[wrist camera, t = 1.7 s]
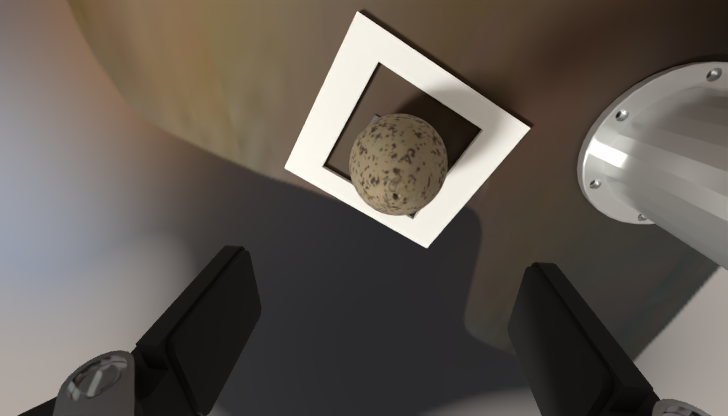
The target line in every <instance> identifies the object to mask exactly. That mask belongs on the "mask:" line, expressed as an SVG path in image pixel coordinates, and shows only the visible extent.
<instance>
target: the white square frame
mask: <svg viewBox="0 0 728 416" xmlns="http://www.w3.org/2000/svg"><path fill="white" fill-rule="evenodd" d="M378 62H380V63H382V64H383V65H385V66H386V67H388V68H389V69H391V70H392V71H394V72H395V73H397V74H398V75H400V76H402V77H403V78H405V79H406V80H408V81H409V82H411V83H412V84H414V85H415V86H417V87H418V88H420V89H421V90H423V91H424V92H426V93H427V94H429V95H431V96H432V97H434V98H435V99H437V100H438V101H440V102H441V103H443V104H444V105H446V106H447V107H449V108H450V109H452V110H453V111H455V112H456V113H458V114H459V115H461V116H463V117H464V118H466V119H467V120H469V121H470V122H472V123H473V124H475V125H476V126H478V127H479V128H481V131H480V132H479V133H478V134H477V136H476V137H475V138H474V140H473V141H472V142H471V143H470V145H469V146H468V147H467V149H466V150H465V151H464V152H463V154H462V155H461V156H460V158H459V159H458V160H457V161H456V163H455V164H454V165H453V167H452V168H451V169H450V170H449V172H448V173H447V174H446V178H445V181H444V184H443V186H442V188H441V190H440V192H439V193H438V194H437V196H436V197H435V198H434V199H433V200H432V201H431V202H430V203H429V204H428V205H427V206H425V207H424V208H422V209H421V210H419V211H417V213H416V214H415V215H414V217H412V216H410V215H402V216H393V215H387V214H384V213H381V212H378V211H376V210H375V209H373V208H372V207H370V206H369V205H367V204H366V203H365V202H364V201H363V200H362V198H361V197H360V196H359V195H358V193H357V191H356V189H355V187H354V185H353V183H352V182H351V181H350V180H348V179H346V178H344V177H343V176H341V175H339V174H337V173H336V172H334V171H332V170H331V169H329V168H327V167H325V166H324V163H325V161H326V159H327V157H328V155H329V154H330V152H331V150H332V148H333V146H334V144H335V142H336V141H337V139H338V137H339V135H340V133H341V131H342V129H343V127H344V126H345V124H346V122H347V120H348V118H349V116H350V114H351V113H352V111H353V109H354V107H355V105H356V103H357V101H358V99H359V98H360V96H361V94H362V92H363V90H364V88H365V86H366V85H367V83H368V81H369V79H370V77H371V75H372V73H373V71H374V70H375V68H376V66H377V64H378ZM378 118H380V117H378V116H376V115H374V117H373V119H372V121H371V122H370V123H372V122H373V121H375V120H376V119H378ZM529 129H530V128H529V127H528V126H526V125H525V124H523V123H522V122H520V121H519V120H518V119H516V118H515V117H513V116H512V115H510V114H509V113H507V112H506V111H504V110H503V109H501V108H500V107H498V106H497V105H495V104H494V103H492V102H491V101H489V100H488V99H486V98H485V97H484V96H482V95H481V94H479V93H478V92H476V91H475V90H473V89H472V88H470V87H469V86H467V85H466V84H464V83H463V82H461V81H460V80H458V79H457V78H455V77H454V76H452V75H451V74H449V73H448V72H447V71H445V70H444V69H442V68H441V67H439V66H438V65H436V64H435V63H433V62H432V61H430V60H429V59H427V58H426V57H424V56H423V55H421V54H420V53H418V52H417V51H415V50H414V49H413V48H411V47H410V46H408V45H407V44H405V43H404V42H402V41H401V40H399V39H398V38H396V37H395V36H393V35H392V34H390V33H389V32H387V31H386V30H384V29H383V28H381V27H380V26H378V25H377V24H376V23H374V22H373V21H371V20H370V19H368V18H367V17H365V16H364V15H362V14H361V13H359V12H358V11H357V13H356V15H355V17H354V19H353V22H352V24H351V26H350V28H349V30H348V32H347V34H346V37H345V39H344V41H343V43H342V45H341V47H340V50H339V52H338V54H337V56H336V58H335V60H334V62H333V65H332V67H331V69H330V71H329V73H328V75H327V77H326V80H325V82H324V84H323V86H322V88H321V90H320V92H319V95H318V97H317V99H316V101H315V103H314V105H313V108H312V110H311V112H310V114H309V116H308V118H307V120H306V123H305V125H304V127H303V129H302V131H301V133H300V135H299V138H298V140H297V142H296V144H295V146H294V148H293V150H292V153H291V155H290V157H289V159H288V161H287V163H286V166H285V169H287V170H289V171H290V172H292V173H294V174H296V175H298V176H299V177H301V178H303V179H305V180H306V181H308V182H310V183H312V184H314V185H315V186H317V187H319V188H321V189H322V190H324V191H326V192H328V193H329V194H331V195H333V196H335V197H337V198H338V199H340V200H342V201H344V202H345V203H347V204H349V205H351V206H353V207H354V208H356V209H358V210H360V211H361V212H363V213H365V214H367V215H369V216H370V217H372V218H374V219H376V220H378V221H379V222H381V223H383V224H385V225H386V226H388V227H390V228H392V229H393V230H395V231H397V232H399V233H400V234H402V235H404V236H406V237H408V238H409V239H411V240H413V241H415V242H416V243H418V244H420V245H422V246H423V247H426V248H427V247H428V246H429V245H430V244H431V243H432V242H433V241H434V239H435V238H436V237H437V236H438V235H439V234H440V232H441V231H442V230H443V229H444V228H445V227H446V225H447V224H448V223H449V222H450V221H451V220H452V219H453V217H454V216H455V215H456V214H457V213H458V212H459V210H460V209H461V208H462V207H463V206H464V205H465V204H466V202H467V201H468V200H469V199H470V198H471V197H472V195H473V194H474V193H475V192H476V191H477V190H478V188H479V187H480V186H481V185H482V184H483V183H484V182H485V180H486V179H487V178H488V177H489V176H490V175H491V173H492V172H493V171H494V170H495V169H496V168H497V166H498V165H499V164H500V163H501V162H502V161H503V160H504V158H505V157H506V156H507V155H508V154H509V153H510V151H511V150H512V149H513V148H514V147H515V146H516V144H517V143H518V142H519V141H520V140H521V139H522V138H523V136H524V135H525V134H526V133H527V132H528V131H529Z"/></svg>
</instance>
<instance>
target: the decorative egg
mask: <svg viewBox="0 0 728 416" xmlns="http://www.w3.org/2000/svg"><path fill="white" fill-rule="evenodd" d="M447 166H448V160H447V153H446V149H445V146H444V143H443V141H442V139H441V137H440V136H439V134H438V133H437V131H436V130H435V129H434V128H433V127H432V126H431V125H430V124H428V123H427V122H426V121H424V120H422V119H420V118H418V117H416V116H413V115H409V114H390V115H386V116H383V117H381V118H378V119H376V120H375V121H373V122H372V123H370V124H369V125H368V126H366V127H365V128H364V129H363V130H362V132H361V133H360V134H359V136H358V137H357V139H356V140H355V142H354V145H353V148H352V151H351V155H350V162H349V169H350V176H351V180H352V183H353V185H354V187H355V189H356V191H357V193H358V195H359V196H360V197H361V198H362V200H363V201H364V202H365V203H366V204H367V205H369V206H370V207H372V208H373V209H375V210H376V211H378V212H381V213H384V214H387V215H393V216H402V215H408V214H412V213H414V212H416V211H419V210H421V209H422V208H424V207H425V206H427V205H428V204H429V203H430V202H431V201H432V200H433V199H434V198H435V197H436V196H437V194H438V193H439V192H440V190H441V188H442V186H443V184H444V181H445V178H446V174H447Z"/></svg>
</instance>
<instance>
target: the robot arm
mask: <svg viewBox="0 0 728 416" xmlns="http://www.w3.org/2000/svg"><path fill="white" fill-rule="evenodd" d="M616 114H617V115H616ZM577 174H578V182H579V185H580V188H581V190H582V193H583V194H584V196H585V197H586V199H587V200H588V201H589V202H590V203H591V204H592V205H593V206H594V207H595V208H597V209H598V210H599V211H601V212H602V213H604V214H605V215H607V216H608V217H610V218H613V219H616V220H618V221H621V222H627V223H632V224H657V225H658V226H660V227H662V228H663V229H665V230H666V231H668V232H669V233H671V234H672V235H674V236H675V237H677V238H679V239H680V240H682V241H683V242H685V243H686V244H688V245H689V246H691V247H692V248H694V249H696V250H697V251H699V252H700V253H702V254H703V255H705V256H706V257H708V258H709V259H711V260H713V261H714V262H716V263H717V264H719V265H720V266H722V267H723V268H725V269H726V270H728V62H696V63H689V64H685V65H680V66H676V67H672V68H670V69H667V70H664V71H662V72H659V73H656V74H654V75H652V76H650V77H648V78H646V79H645V80H643V81H641V82H639V83H637V84H636V85H634V86H633V87H631V88H630V89H628V90H627V91H626V92H624V93H623V94H622V95H620V96H619V97H618V98H617V99H616V100H615V101H614V102H612V103H611V104H610V105H609V106H608V107H607V108H606V109H605V110H604V111H603V112H602V114H601V115H600V116H599V118H598V119H597V120H596V121H595V123H594V124H593V125H592V127H591V129H590V130H589V132H588V134H587V136H586V138H585V139H584V142H583V145H582V147H581V150H580V153H579V157H578V165H577ZM260 315H261V303H260V298H259V294H258V289H257V284H256V280H255V276H254V271H253V266H252V261H251V257H250V253H249V251H246V250H245V248H244V247H242V246H224V247H223V248H222V249H221V250H220V252H219V253H218V254H217V255H216V256H215V257H214V258H213V259H212V260H211V262H210V263H209V264H208V265H207V266H206V267H205V268H204V269H203V270H202V271H201V273H200V274H199V275H198V276H197V277H196V278H195V279H194V280H193V281H192V282H191V284H190V285H189V286H188V287H187V288H186V289H185V290H184V291H183V292H182V293H181V295H180V296H179V297H178V298H177V299H176V300H175V301H174V302H173V304H171V306H170V307H169V308H168V309H167V310H166V311H165V313H163V314H162V315H161V317H160V318H159V319H158V320H157V321H156V322H155V323H154V324H153V325H152V327H151V328H150V329H149V330H148V331H147V332H146V333H145V334H144V335H143V336H142V338H141V339H140V340H139V341H138V342H137V343H136V348H135V349H134V350H133V351H132V352H131V353H129V352H128V351H122V350H118V351H111V352H107V353H104V354H101V355H99V356H97V357H95V358H93V359H91V360H89V361H87V362H86V363H84V364H83V365H81V366H80V367H79V368H77V369H76V370H75V371H74V372H73V373H72V374H71V375H69V376H68V378H67V379H66V380H65V382H64V383H63V384H62V385H61V388H60V390H59V392H58V395H57V397H55V398H53V399H51V400H49V401H47V402H45V403H43V404H41V405H39V406H37V407H34V408H32V409H30V410H28V411H26V412H24V413H22V414H20V415H18V416H206V415H208V414H209V413H210V411H211V410H212V408H213V406H214V404H215V402H216V400H217V398H218V396H219V394H220V392H221V390H222V389H223V387H224V385H225V383H226V381H227V379H228V377H229V375H230V373H231V371H232V369H233V367H234V366H235V364H236V362H237V360H238V358H239V356H240V354H241V352H242V350H243V348H244V346H245V344H246V343H247V341H248V338H249V337H250V335H251V333H252V331H253V329H254V327H255V325H256V323H257V321H258V320H259V318H260ZM508 334H509V337H510V340H511V342H512V345H513V347H514V349H515V352H516V354H517V357H518V359H519V361H520V364H521V366H522V369H523V371H524V374H525V376H526V378H527V381H528V383H529V385H530V388H531V391H532V393H533V395H534V398H535V400H536V403H537V405H538V407H539V410H540V412H541V415H542V416H711V415H709V414H708V413H706V412H704V411H703V410H701V409H699V408H697V407H695V406H693V405H690V404H688V403H686V402H682V401H678V400H674V399H662V400H660V399H659V397H658V396H657V395H656V394H655V392H654V391H653V387H652V386H651V385H650V384H649V382H648V381H647V380H646V378H645V377H644V376H643V375H642V373H641V372H640V371H639V370H638V368H637V367H636V366H635V364H634V363H633V362H632V361H631V359H630V358H629V357H628V355H627V354H626V353H625V352H624V350H623V349H622V348H621V347H620V345H619V344H618V343H617V341H616V340H615V339H614V338H613V336H612V335H611V334H610V333H609V331H608V330H607V329H606V327H605V326H604V325H603V324H602V322H601V321H600V320H599V319H598V317H597V316H596V315H595V313H594V312H593V311H592V310H591V308H590V307H589V306H588V305H587V303H586V302H585V301H584V299H583V298H582V297H581V296H580V294H579V293H578V292H577V290H576V289H575V288H574V287H573V285H572V284H571V283H570V282H569V280H568V279H567V278H566V276H565V275H564V274H563V273H562V271H561V270H560V269H559V268H558V266H557V265H556V264H553V263H539V262H535V263H533V264H532V265H531V267H527V268H526V270H525V273H524V276H523V279H522V282H521V285H520V289H519V292H518V295H517V298H516V301H515V304H514V308H513V311H512V314H511V317H510V320H509V323H508Z"/></svg>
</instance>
